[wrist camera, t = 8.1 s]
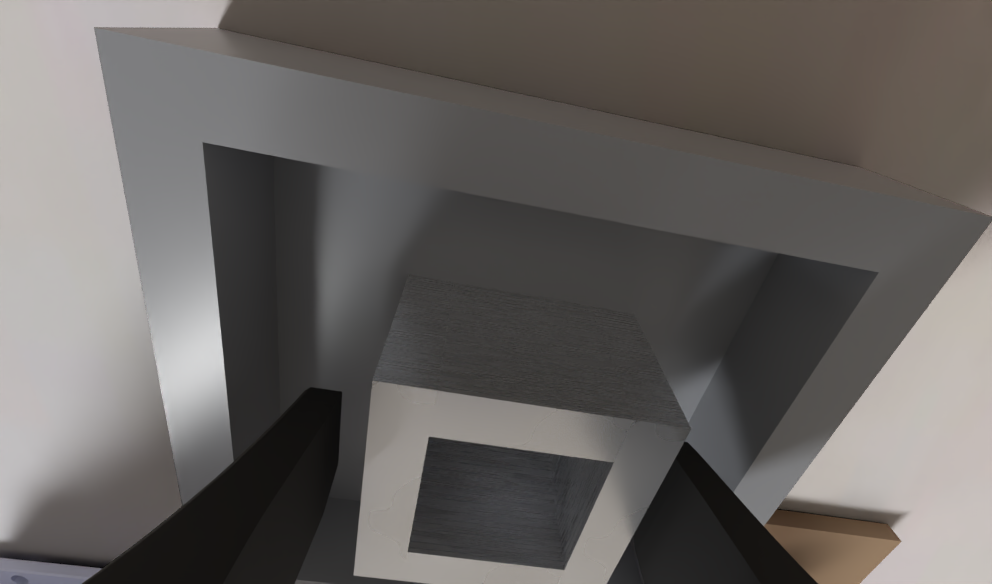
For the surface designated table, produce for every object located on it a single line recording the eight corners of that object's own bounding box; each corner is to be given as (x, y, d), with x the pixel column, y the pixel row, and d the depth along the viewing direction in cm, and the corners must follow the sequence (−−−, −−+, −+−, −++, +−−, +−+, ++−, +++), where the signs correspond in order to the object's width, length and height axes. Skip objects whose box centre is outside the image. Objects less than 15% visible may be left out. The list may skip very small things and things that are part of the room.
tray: (251, 495, 15) (198, 596, 12) (216, 28, 9) (93, 27, 6) (646, 543, 16) (675, 643, 13) (861, 167, 10) (993, 217, 7)
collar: (387, 441, 13) (353, 575, 10) (409, 274, 10) (372, 380, 7) (572, 467, 13) (596, 602, 10) (634, 313, 11) (691, 429, 8)
